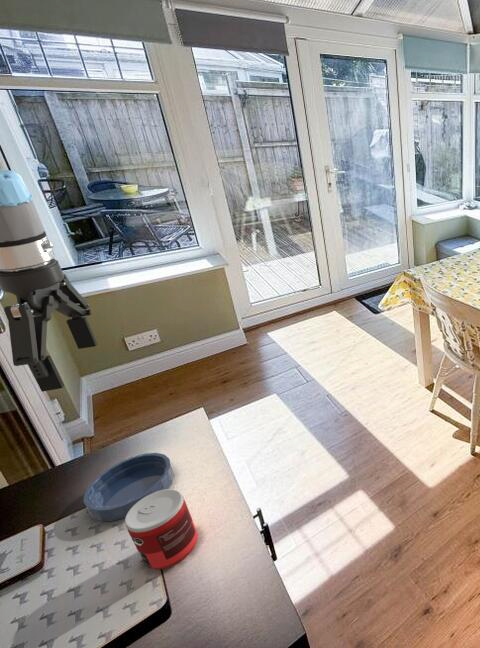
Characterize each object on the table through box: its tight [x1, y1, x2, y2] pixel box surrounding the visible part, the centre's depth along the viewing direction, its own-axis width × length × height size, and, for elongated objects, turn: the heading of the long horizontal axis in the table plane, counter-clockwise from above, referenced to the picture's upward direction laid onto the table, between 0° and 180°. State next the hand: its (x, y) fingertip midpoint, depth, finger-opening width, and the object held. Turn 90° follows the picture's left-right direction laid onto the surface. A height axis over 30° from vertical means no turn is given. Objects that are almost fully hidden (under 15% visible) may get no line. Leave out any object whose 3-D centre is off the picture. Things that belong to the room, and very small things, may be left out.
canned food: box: [124, 488, 199, 570], centre depth 73 cm, size 8×8×11 cm
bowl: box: [83, 452, 175, 522], centre depth 85 cm, size 13×13×4 cm
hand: (71, 366), depth 78 cm, fingers open, 13 cm apart
